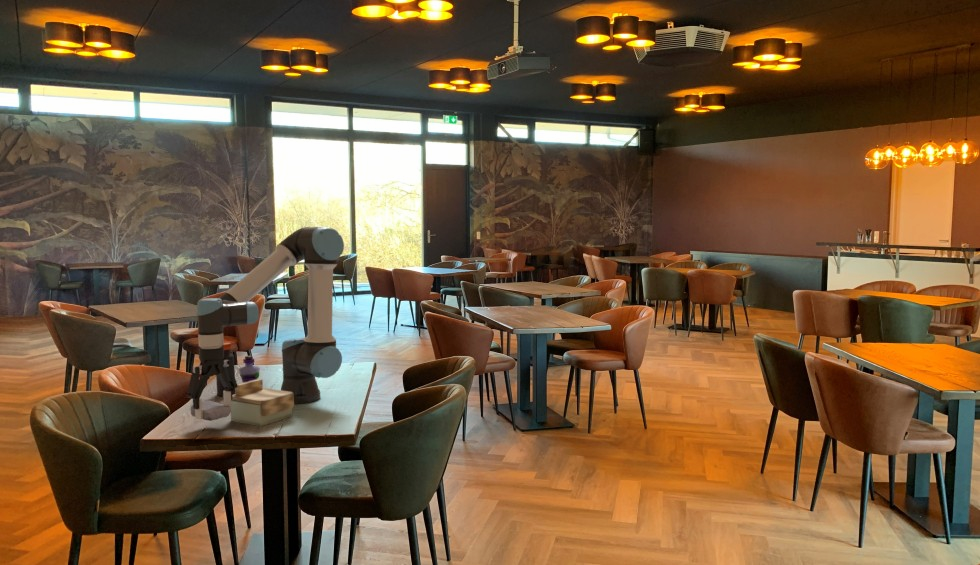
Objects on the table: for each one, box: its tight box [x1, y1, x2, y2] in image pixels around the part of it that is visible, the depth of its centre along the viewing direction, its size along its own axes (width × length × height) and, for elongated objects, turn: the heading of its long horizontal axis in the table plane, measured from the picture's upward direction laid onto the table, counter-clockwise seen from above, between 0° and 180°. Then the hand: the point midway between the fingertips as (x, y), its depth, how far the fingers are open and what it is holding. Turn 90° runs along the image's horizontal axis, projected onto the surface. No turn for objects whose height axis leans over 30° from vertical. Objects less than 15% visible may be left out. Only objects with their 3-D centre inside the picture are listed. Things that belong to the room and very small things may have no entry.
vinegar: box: [215, 342, 236, 397], centre depth 277 cm, size 7×7×20 cm
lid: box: [232, 378, 295, 416], centre depth 242 cm, size 14×16×8 cm
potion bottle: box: [238, 355, 261, 383], centre depth 294 cm, size 9×9×12 cm
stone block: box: [190, 400, 231, 422], centre depth 231 cm, size 12×5×10 cm
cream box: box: [230, 400, 293, 427], centre depth 243 cm, size 14×14×7 cm
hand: (213, 414), depth 231 cm, fingers closed on stone block, 10 cm apart
